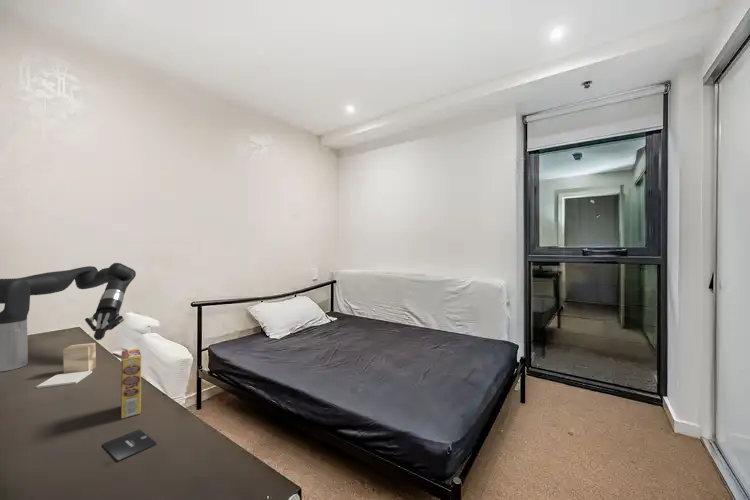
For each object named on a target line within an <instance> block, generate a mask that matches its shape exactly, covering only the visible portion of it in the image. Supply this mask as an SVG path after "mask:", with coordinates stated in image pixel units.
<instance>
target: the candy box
mask: <svg viewBox="0 0 750 500" xmlns="http://www.w3.org/2000/svg"><path fill="white" fill-rule="evenodd" d="M140 350H141V349H140V348H132V349H127V350H122V351H121V359H120V360H121V367H120V370H121V371H120V372H121V373H120V374H121V375H120V413H121V416H120V418H121V419H125V418H130V417H134V416H137V415H140V414H141V411H142V410H141V408H142V407H141V405H142V404H141V403H142V401H141V398H142V354H141V351H140Z"/></svg>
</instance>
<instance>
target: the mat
mask: <svg viewBox="0 0 750 500" xmlns="http://www.w3.org/2000/svg"><path fill="white" fill-rule="evenodd" d="M92 373H93V370H91V371H85V372H76V373H67V374H64V373H61V374H60V373H58V374H55V375H54V376H52V377H50V378H49V379H47V380H45V381H44V382H42V383H40V384H37V385H36V386H35V388H36V389H41V388H50V387H59V386H66V385H76V384H78V383H79V382H81V381H82V380H83V379H85V378H87V377H88V376H89V375H91V374H92Z"/></svg>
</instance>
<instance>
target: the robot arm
mask: <svg viewBox="0 0 750 500" xmlns="http://www.w3.org/2000/svg"><path fill="white" fill-rule="evenodd" d="M136 275H137V274H136V270H134V268H131V267H130V266H127V265H125V264H123V263H119V262H114V263H112V264H111V265H110V266H108V267H105V268H101V269H100V270H98V268H97V267H95V266H92V265H91V266H90V265H89V266H81V267H76V268H72V269H68V270H67V269H66V270H60V271H59V270H58V271H57V270H56V271H49V272H43V273H38V274H33V275H27V276H24V277H18V278H0V304H3V305H4V307H3V310H1V311H0V372H7V371H12V370H17V369H19V368H23V367H26V366H27V365H28V359H29V355H28V354H29V353H28V352H29V351H28V350H29V349H28V348H29V347H28V342H29V341H28V316H29V311H30V307H31V306H30V305H31V303H30V302H31V296H42V295H50V294H55V293H59V292H63V291H65V290H66V289H67V288H69V287H70V286H71V284H72V283H73V282H74V283H75V286H76V288H77V289H79V290H88V289H93V288H97V287H100V286H103V285H104V284H106V286H105V289H104V292H103V293H102V295H101V297H100V299H99V303H98V305H97V307H96V309H95V310H96V311H95V313H94V314H93V315H92V316H91V317H87V318H86V317H85V318H84V321H85V322H86V324H87V325H88V326H89V328H90V329H91V330H92V331H93V332H94V335H93V338H94V339H95V340H96V341H101V340H102V339H103V338H105V335H106V332H107V331H112V330H114V328H116V327H117V326H119V325H120V324H121V323H122V322H123V321H124V320H125V319H124V317H123V315H120V311H121V308H122V305H123V303H124V298H125V297H124V296H125V293H126V291H127V288H128V287H129V286H130V284H131V282H132V281H134V279H135V277H136ZM94 322H96V325H95V324H94Z"/></svg>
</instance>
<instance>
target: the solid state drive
mask: <svg viewBox="0 0 750 500" xmlns="http://www.w3.org/2000/svg"><path fill="white" fill-rule="evenodd" d="M156 445H157V442H156V441H155V440H154V439H153V438H151V437H150V436H149V435H148V434H146V433H145V432H144V431H143V430H142V429H136V430H134V431H131V432H128V433H126V434H123V435H121V436H118V437H116V438H114V439H111V440H108V441H106V442H104V443H102V447H103V448H104V449H105V450H106V452H107V453H108V454H109V455H110V456H111V457H112V458H113V459H114V460H115V462H117V463H119V462H120V463H121V462H122V461H124V460H126V459H128V458H130V457H132V456H134V455H136V454H137V455H138V454H139V453H141V452H143V451H146V450H149V449H151V448H153V447H155V446H156Z"/></svg>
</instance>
